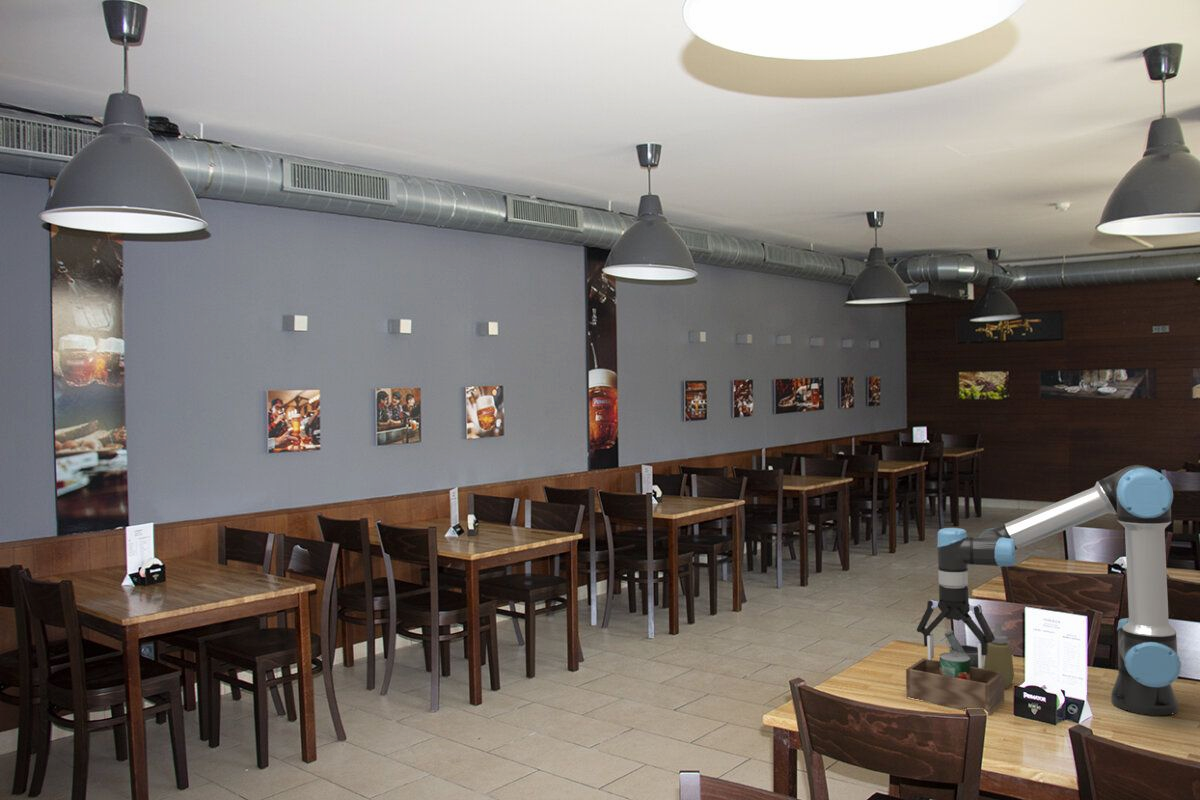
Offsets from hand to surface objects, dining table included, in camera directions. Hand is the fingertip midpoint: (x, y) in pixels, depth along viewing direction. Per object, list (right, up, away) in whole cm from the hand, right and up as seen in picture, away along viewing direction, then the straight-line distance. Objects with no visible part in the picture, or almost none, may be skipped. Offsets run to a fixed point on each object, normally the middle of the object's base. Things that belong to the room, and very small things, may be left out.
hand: (955, 662), depth 246 cm
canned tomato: (0, -10, 0) cm, 10 cm away
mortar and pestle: (+12, -10, +24) cm, 29 cm away
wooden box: (0, -10, 0) cm, 10 cm away
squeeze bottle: (+17, -10, +11) cm, 22 cm away
